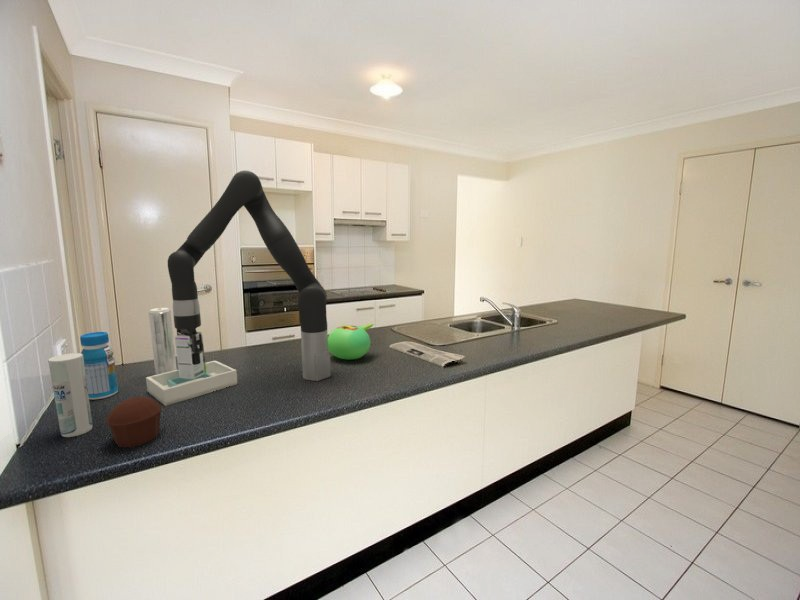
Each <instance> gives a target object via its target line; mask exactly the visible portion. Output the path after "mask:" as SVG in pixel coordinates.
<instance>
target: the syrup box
mask: <svg viewBox="0 0 800 600" xmlns="http://www.w3.org/2000/svg"><path fill="white" fill-rule="evenodd" d="M196 332H197V334H199V333H201V335H202V347H203V351H202V352H199V353H200V364H196V365H193V364H192V355H191V354H192V353H191V348H190V347H188V345H187V342H188V343H189V344H190V345H191V344H193V343H192V340H191V338H190V336H188V335H185V336H184V334H182V335H181V334H180V335H177V334H176V335H175V336H174V345H175V354H176V360H177V361H176V362H177V370H179V377H180V378H184V379H195V378H197V377H199V376H201V375H203V374H205V373H206V365H205V363H206V358H205V357H206V356H205V347H204V339H203V338H204V337H203V332H201V331H196ZM196 349H197V348H196Z"/></svg>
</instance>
